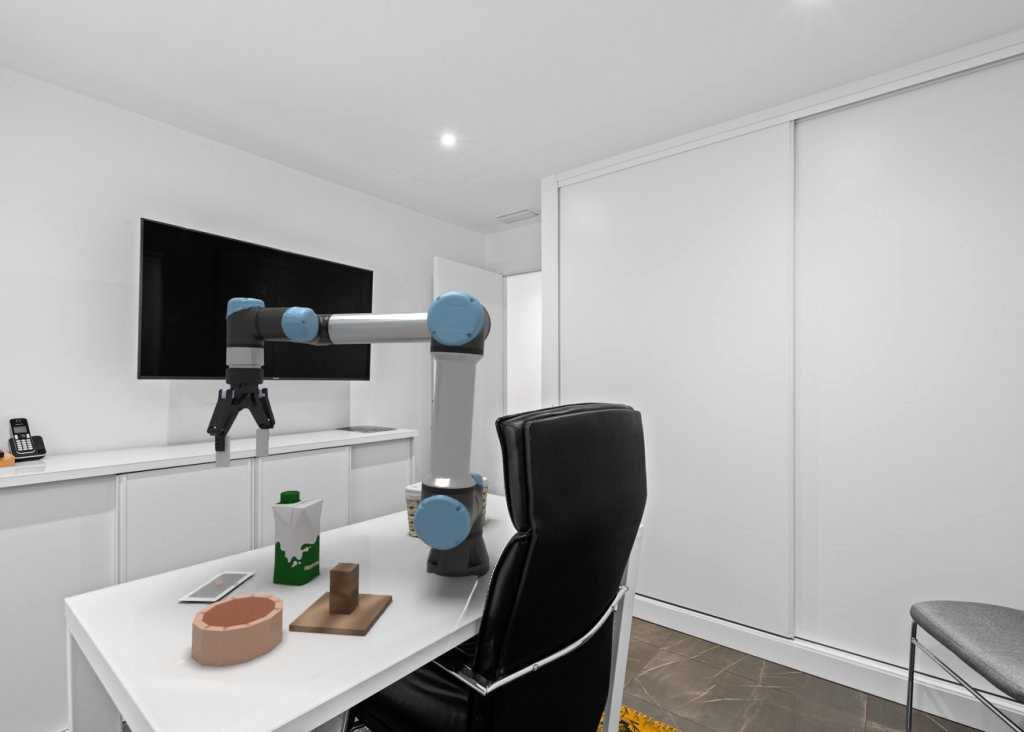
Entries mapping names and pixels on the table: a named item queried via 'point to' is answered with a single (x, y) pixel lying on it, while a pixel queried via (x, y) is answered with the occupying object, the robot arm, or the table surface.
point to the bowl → (237, 629)
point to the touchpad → (216, 586)
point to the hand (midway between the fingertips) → (243, 461)
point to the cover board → (342, 621)
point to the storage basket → (415, 497)
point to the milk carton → (296, 539)
